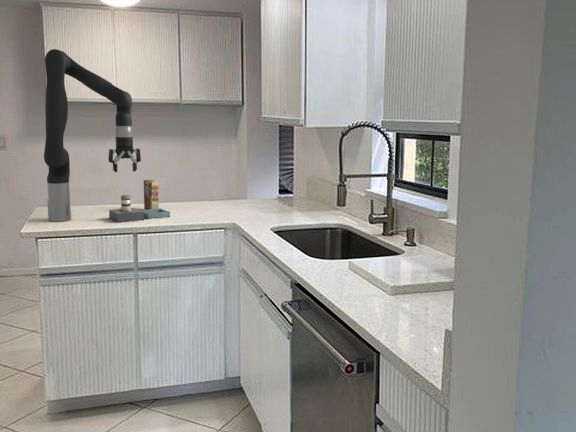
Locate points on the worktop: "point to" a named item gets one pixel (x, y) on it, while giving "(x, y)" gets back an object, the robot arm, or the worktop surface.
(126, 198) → the fuse
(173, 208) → the worktop surface
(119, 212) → the fuse block
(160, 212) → the tray
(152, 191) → the candy box
